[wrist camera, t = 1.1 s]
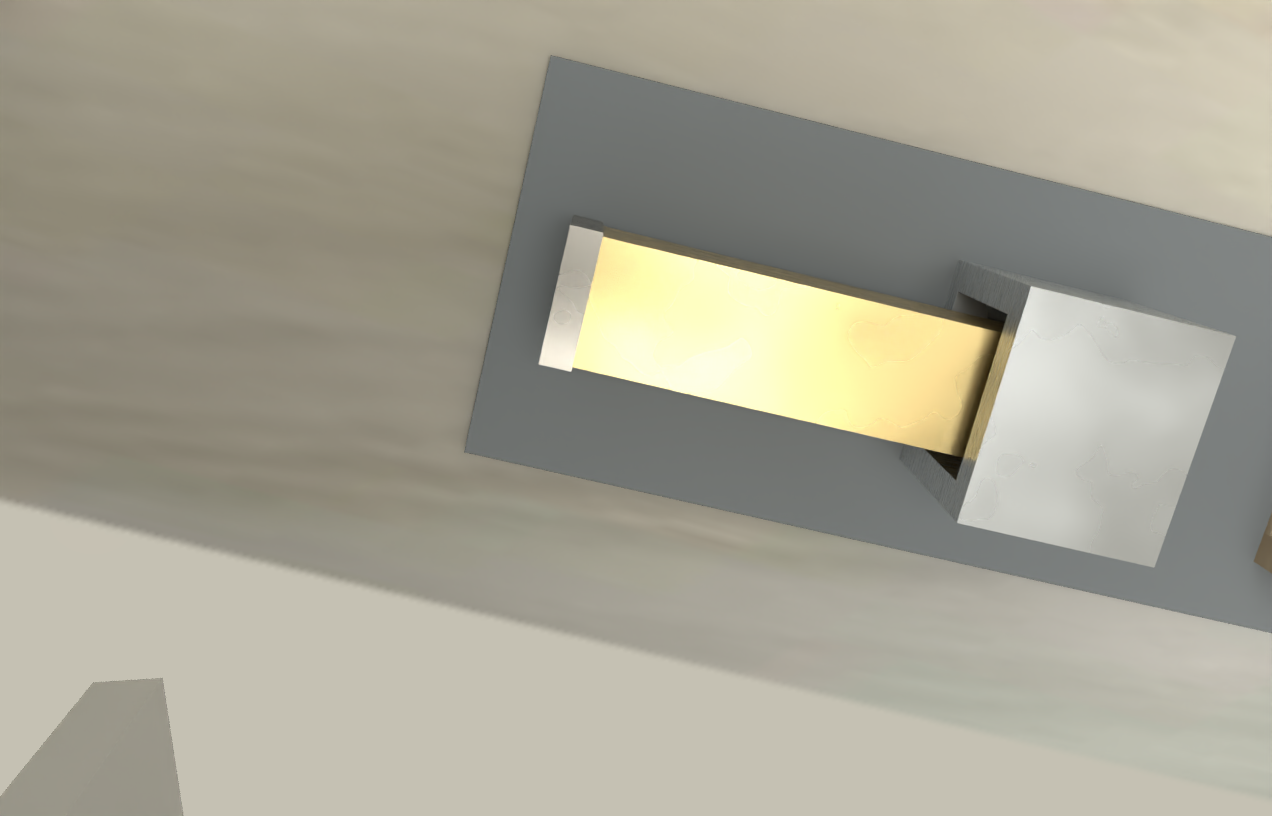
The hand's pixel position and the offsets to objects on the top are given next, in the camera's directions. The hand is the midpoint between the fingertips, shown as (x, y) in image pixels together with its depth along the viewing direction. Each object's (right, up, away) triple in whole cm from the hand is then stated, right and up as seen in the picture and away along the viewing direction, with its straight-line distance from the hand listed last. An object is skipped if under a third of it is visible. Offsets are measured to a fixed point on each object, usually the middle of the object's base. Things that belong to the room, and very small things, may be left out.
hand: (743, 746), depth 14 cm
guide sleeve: (+10, +5, +20) cm, 23 cm away
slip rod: (+4, +6, +18) cm, 20 cm away
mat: (+10, +5, +20) cm, 23 cm away
